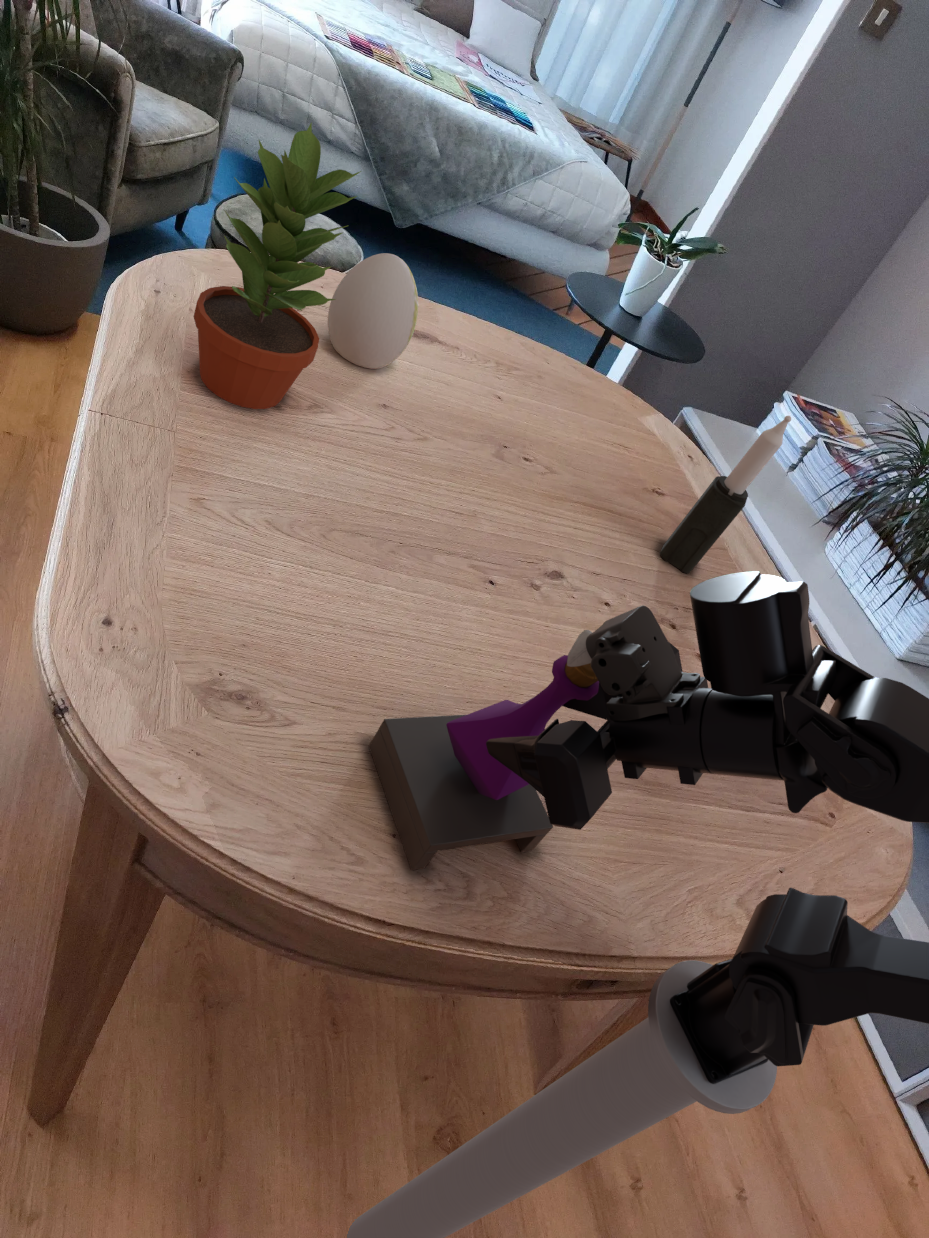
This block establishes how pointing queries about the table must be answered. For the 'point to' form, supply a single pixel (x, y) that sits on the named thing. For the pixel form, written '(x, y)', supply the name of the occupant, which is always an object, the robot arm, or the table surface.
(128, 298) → the table surface
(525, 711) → the perfume bottle
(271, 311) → the potted plant
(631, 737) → the robot arm
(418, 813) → the shelf
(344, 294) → the decorative egg
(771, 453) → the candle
